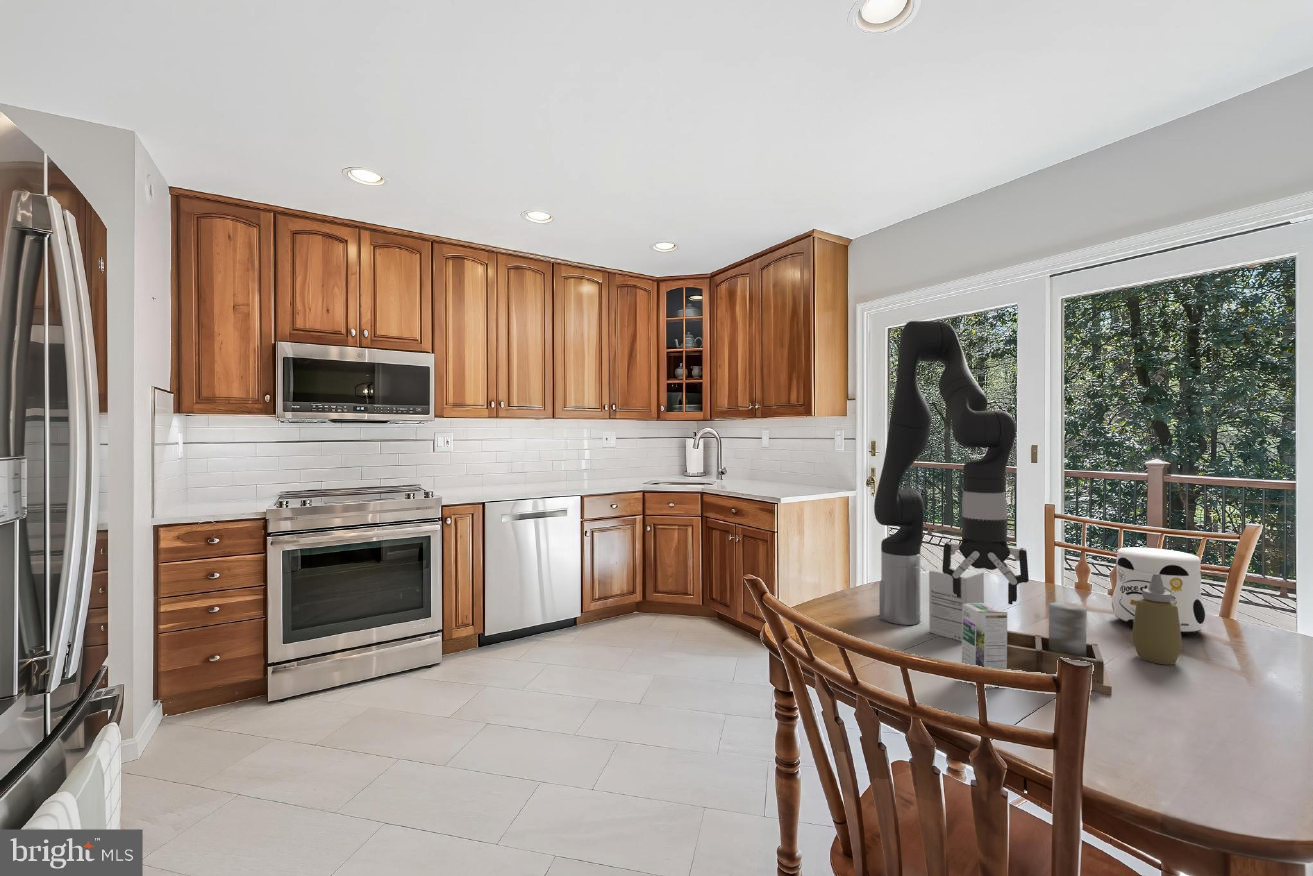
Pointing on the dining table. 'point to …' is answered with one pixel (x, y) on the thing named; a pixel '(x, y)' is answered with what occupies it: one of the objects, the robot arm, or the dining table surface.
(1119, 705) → the dining table surface
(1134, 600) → the milk container
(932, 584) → the supplement box
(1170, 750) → the dining table surface
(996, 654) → the syrup box
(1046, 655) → the walnut caddy
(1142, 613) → the squeeze bottle
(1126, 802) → the dining table surface
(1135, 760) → the dining table surface
